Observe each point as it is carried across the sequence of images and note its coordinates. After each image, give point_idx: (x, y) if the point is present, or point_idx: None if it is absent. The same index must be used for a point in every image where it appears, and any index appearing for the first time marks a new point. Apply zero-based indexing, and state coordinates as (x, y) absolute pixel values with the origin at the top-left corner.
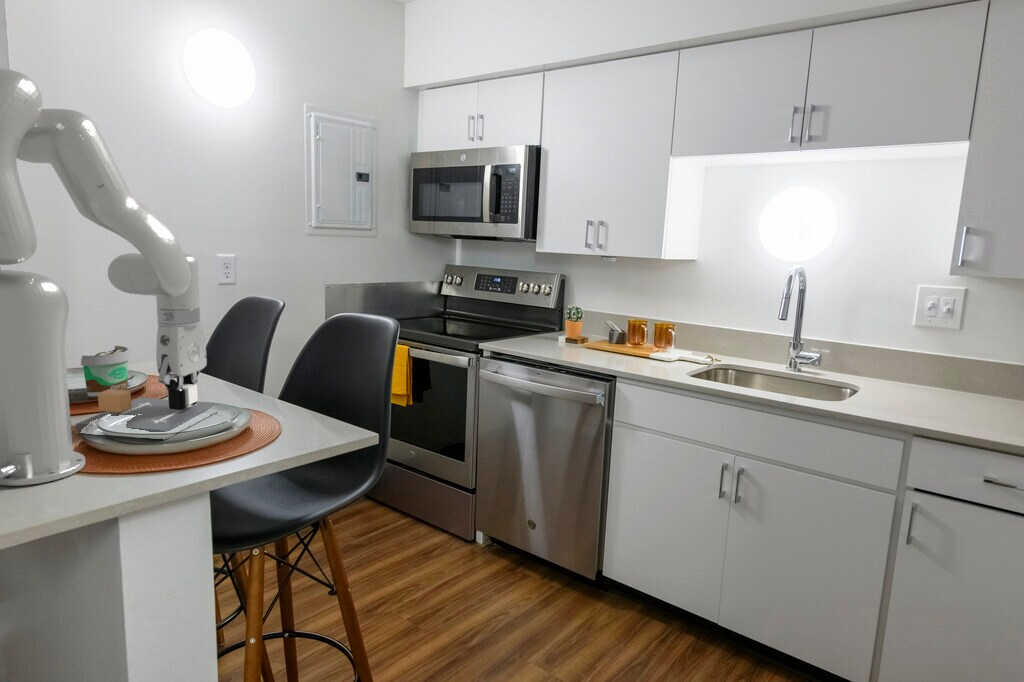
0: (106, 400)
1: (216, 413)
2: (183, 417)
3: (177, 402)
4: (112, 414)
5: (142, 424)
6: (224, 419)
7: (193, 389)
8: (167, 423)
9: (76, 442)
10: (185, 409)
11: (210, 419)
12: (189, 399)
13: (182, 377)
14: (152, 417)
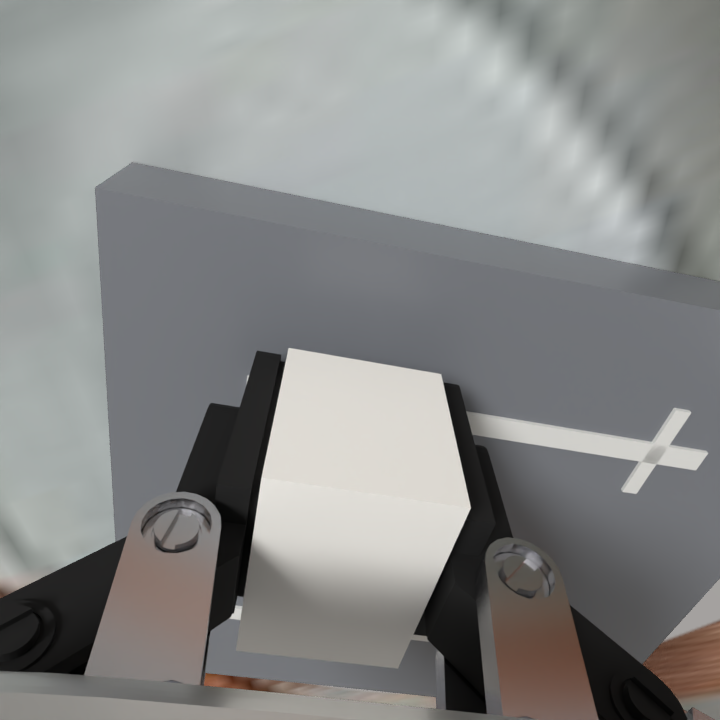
0: None
1: (156, 163)
2: (583, 329)
3: (488, 468)
4: None
5: (704, 507)
6: (334, 8)
7: (353, 457)
8: None
9: (707, 631)
10: None
11: (343, 155)
12: (439, 405)
13: (510, 711)
14: (547, 507)
